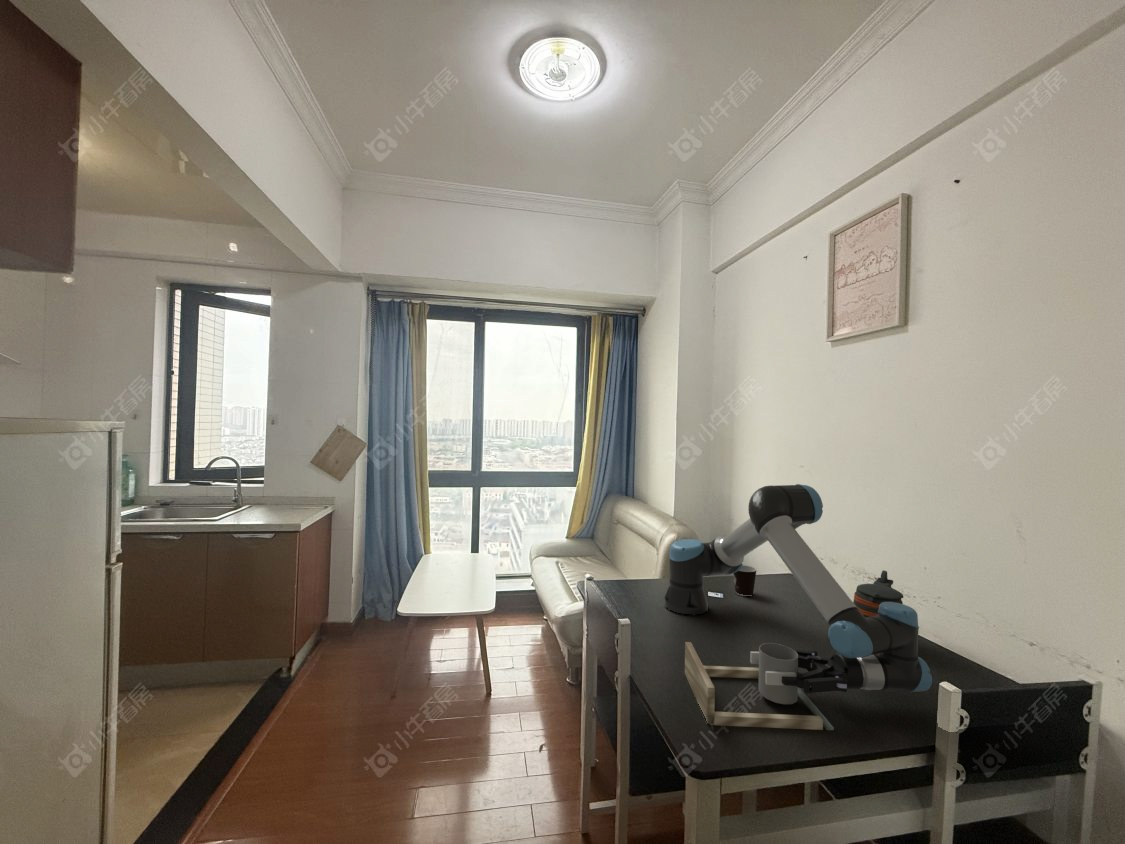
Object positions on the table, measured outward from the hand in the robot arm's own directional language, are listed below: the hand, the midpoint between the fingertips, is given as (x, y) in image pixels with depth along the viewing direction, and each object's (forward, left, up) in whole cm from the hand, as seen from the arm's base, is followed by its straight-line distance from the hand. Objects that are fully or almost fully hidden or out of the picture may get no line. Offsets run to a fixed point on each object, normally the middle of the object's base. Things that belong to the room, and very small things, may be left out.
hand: (758, 667), depth 108 cm
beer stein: (+16, +57, -8) cm, 60 cm away
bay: (-1, -1, -7) cm, 8 cm away
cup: (+4, +3, -6) cm, 8 cm away
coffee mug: (-29, +69, -8) cm, 75 cm away
